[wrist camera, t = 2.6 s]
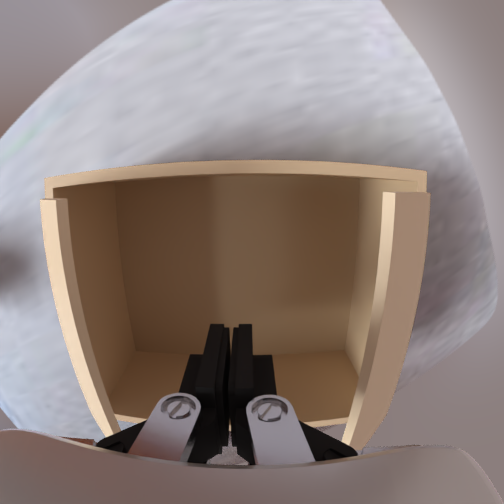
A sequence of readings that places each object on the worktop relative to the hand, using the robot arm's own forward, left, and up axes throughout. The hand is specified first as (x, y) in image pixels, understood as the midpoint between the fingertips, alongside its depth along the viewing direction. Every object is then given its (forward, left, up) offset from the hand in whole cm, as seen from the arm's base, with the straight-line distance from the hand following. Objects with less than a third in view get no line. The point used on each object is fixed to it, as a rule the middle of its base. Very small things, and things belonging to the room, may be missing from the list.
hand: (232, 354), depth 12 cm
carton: (0, 0, -12) cm, 12 cm away
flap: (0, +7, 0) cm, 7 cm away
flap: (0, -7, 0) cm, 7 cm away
